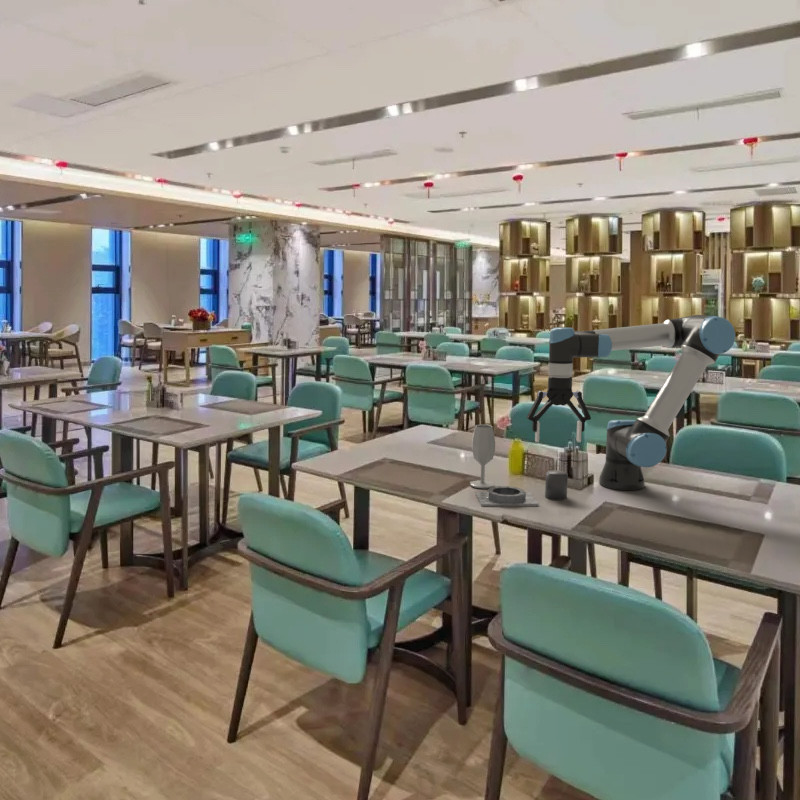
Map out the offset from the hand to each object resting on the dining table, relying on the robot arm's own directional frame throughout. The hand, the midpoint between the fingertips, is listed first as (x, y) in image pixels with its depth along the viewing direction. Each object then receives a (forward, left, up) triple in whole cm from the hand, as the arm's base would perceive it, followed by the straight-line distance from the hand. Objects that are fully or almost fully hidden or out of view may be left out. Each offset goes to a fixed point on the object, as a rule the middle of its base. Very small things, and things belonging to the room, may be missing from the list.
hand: (557, 441), depth 238 cm
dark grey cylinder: (0, 0, -19) cm, 19 cm away
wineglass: (+22, -14, -19) cm, 32 cm away
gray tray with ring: (+17, +4, -19) cm, 25 cm away
